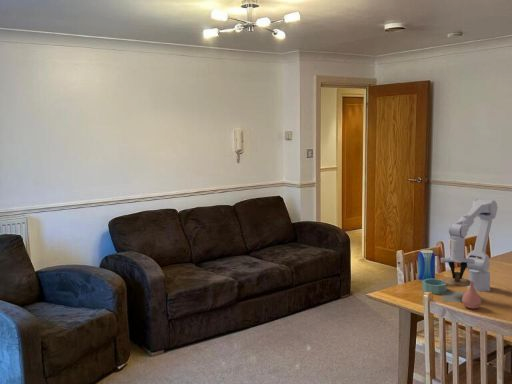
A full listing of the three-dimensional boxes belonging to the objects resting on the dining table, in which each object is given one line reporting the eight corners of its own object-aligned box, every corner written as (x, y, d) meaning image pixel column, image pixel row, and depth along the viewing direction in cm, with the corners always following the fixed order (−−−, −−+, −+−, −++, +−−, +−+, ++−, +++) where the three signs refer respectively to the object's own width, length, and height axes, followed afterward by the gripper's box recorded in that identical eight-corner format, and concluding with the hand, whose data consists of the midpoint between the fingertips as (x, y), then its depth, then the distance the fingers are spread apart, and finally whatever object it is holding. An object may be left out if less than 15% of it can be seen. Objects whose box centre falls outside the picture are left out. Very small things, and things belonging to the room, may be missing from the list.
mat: (472, 293, 239) (472, 292, 238) (476, 304, 225) (476, 303, 225) (441, 292, 242) (441, 291, 242) (443, 302, 229) (443, 301, 229)
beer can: (435, 284, 254) (436, 253, 252) (418, 283, 256) (418, 253, 254) (433, 279, 262) (433, 249, 260) (416, 278, 264) (417, 249, 262)
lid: (469, 279, 237) (469, 269, 237) (473, 287, 226) (473, 276, 225) (442, 278, 241) (442, 268, 240) (444, 285, 229) (444, 275, 229)
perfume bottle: (474, 304, 225) (474, 278, 223) (484, 310, 217) (485, 283, 216) (458, 306, 223) (458, 280, 222) (468, 312, 216) (468, 285, 214)
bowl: (445, 288, 248) (445, 279, 247) (447, 295, 237) (447, 286, 237) (421, 286, 251) (422, 278, 250) (423, 294, 240) (423, 285, 240)
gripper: (441, 251, 229) (441, 279, 231) (476, 252, 226) (475, 281, 227) (440, 247, 236) (440, 275, 238) (473, 248, 232) (473, 276, 234)
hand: (457, 278), depth 233 cm, fingers closed on lid, 3 cm apart
